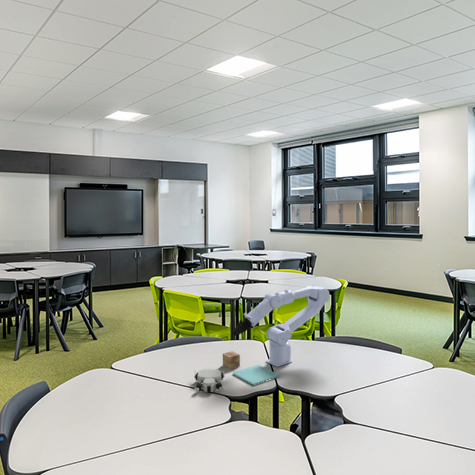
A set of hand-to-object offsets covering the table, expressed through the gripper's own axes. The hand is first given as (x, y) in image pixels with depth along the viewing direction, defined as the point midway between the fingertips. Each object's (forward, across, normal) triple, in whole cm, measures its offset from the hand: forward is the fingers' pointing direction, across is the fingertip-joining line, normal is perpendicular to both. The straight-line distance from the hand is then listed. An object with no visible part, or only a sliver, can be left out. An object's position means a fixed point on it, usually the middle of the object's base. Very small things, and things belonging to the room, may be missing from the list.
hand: (234, 333), depth 180 cm
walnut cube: (+8, -12, +11) cm, 18 cm away
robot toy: (+22, +5, +9) cm, 25 cm away
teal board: (+4, 0, +19) cm, 20 cm away
